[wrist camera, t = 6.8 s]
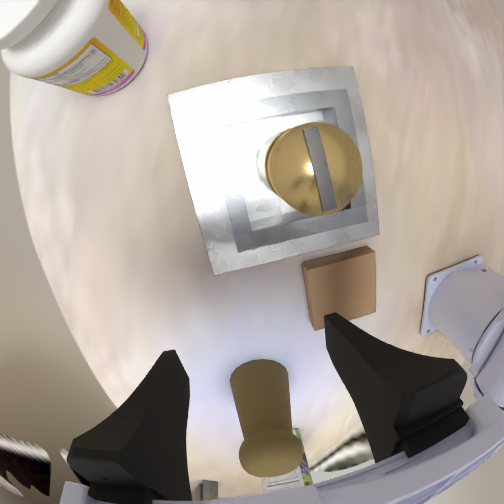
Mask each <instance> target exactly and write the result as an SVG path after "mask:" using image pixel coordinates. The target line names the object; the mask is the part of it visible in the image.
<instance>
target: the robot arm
mask: <svg viewBox="0 0 504 504" xmlns="http://www.w3.org/2000/svg"><path fill="white" fill-rule="evenodd" d="M482 261H483V257H482V256H481V255H478V256H476V257H474V258H472V259H469V260H467V261H464V262H462V263H460V264H457V265H455V266H452V267H450V268H447V269H445V270H442V271H440V272H437V273H434V274H432V275H430V276H428V278H427V282H426V293H425V302H424V310H423V318H422V325H421V331H420V334H421V335H422V336H425V335H427V334H429V333H432V332H434V331H436V330H439V331H440V332H441V333H442V334H443V335H444V336H445V337H446V338H447V339H448V340H449V341H450V342H451V343H452V344H453V345H454V346H455V347H456V348H457V349H458V350H459V351H460V352H461V353H462V355H463V356H464V357H465V358H466V359H468V361H469V362H470V363H471V364H472V365H471V367H470V369H469V371H470V373H471V374H472V375H473V376H474V377H473V378H472V382H471V386H472V390H473V394H474V396H475V398H476V400H477V401H476V402H475V403H473V404H472V405H470V406H469V407H468V408H467V409H466V410H465V411H464V409H463V408H462V405H463V401H462V400H461V399H460V395H461V393H462V391H463V389H464V386H465V384H466V381H467V373H466V372H465V371H464V369H463V368H462V367H461V366H460V365H459V364H458V363H457V362H456V361H455V360H454V359H446V358H436V357H430V356H425V355H420V354H416V353H413V352H409V351H406V350H403V349H400V348H397V347H395V346H392V345H390V344H388V343H385V342H383V341H381V340H379V339H377V338H375V337H373V336H372V335H370V334H368V333H366V332H365V331H363V330H362V329H360V328H358V327H357V326H355V325H354V324H352V323H351V322H349V321H348V320H347V319H345V318H344V317H342V316H341V315H339V314H338V313H336V312H334V313H331V314H327V315H324V326H325V337H326V348H327V350H328V353H329V356H330V358H331V361H332V363H333V365H334V367H335V369H336V371H337V372H338V374H339V376H340V378H341V380H342V381H343V383H344V385H345V387H346V389H347V390H348V392H349V394H350V396H351V398H352V400H353V402H354V404H355V406H356V409H357V411H358V414H359V416H360V419H361V421H362V424H363V427H364V430H365V432H366V435H367V438H368V441H369V444H370V447H371V450H372V453H373V457H374V460H375V463H376V464H373V465H371V466H368V467H365V468H363V469H360V470H357V471H355V472H352V473H349V474H346V475H343V476H340V477H337V478H333V479H330V480H327V481H323V482H320V483H316V484H312V485H308V486H300V487H294V488H287V489H283V490H277V491H272V492H266V493H260V494H253V495H245V496H237V497H226V498H219V499H212V500H207V501H193V500H192V495H191V490H190V483H189V475H188V466H187V453H186V430H187V420H188V410H189V400H190V385H189V377H188V375H187V373H186V371H185V369H184V367H183V365H182V363H181V361H180V359H179V357H178V355H177V353H176V351H175V350H169V351H163V353H162V354H161V355H160V357H159V358H158V359H157V361H156V362H155V364H154V365H153V367H152V368H151V370H150V371H149V372H148V374H147V375H146V377H145V378H144V379H143V381H142V382H141V383H140V384H139V386H138V387H137V388H136V389H135V391H134V392H133V393H132V394H131V395H130V397H129V398H128V399H127V400H126V401H125V402H124V403H123V404H122V405H121V406H120V407H119V408H118V409H117V410H116V411H114V412H113V413H112V414H111V415H110V416H109V417H108V418H106V419H105V420H104V421H102V422H101V423H100V424H98V425H97V426H96V427H94V428H92V429H91V430H89V431H87V432H85V433H84V434H82V435H80V436H78V437H77V438H74V439H73V441H72V444H71V447H70V450H69V453H68V456H67V462H68V464H69V465H70V467H71V468H72V469H74V470H75V471H76V472H77V473H79V474H80V475H81V476H82V477H84V478H85V479H86V480H88V481H89V482H90V486H89V487H87V486H85V485H82V484H78V483H73V482H69V481H66V482H65V485H64V489H63V493H62V496H61V500H60V504H423V503H425V502H427V501H428V500H430V499H432V498H434V497H435V496H437V495H438V494H440V493H441V492H443V491H444V490H446V489H448V488H449V487H451V486H452V485H454V484H455V483H456V482H458V481H459V480H461V479H462V478H464V477H465V476H467V475H468V474H469V473H471V472H472V471H473V470H475V469H476V468H477V467H479V466H480V465H481V464H482V463H484V462H485V461H486V460H488V459H489V458H490V457H491V456H492V455H493V454H494V453H495V452H496V451H497V450H498V449H499V447H500V446H501V445H502V444H503V443H504V277H503V276H502V275H500V274H499V273H497V272H495V271H494V270H492V269H490V268H489V267H487V266H485V265H484V264H482Z"/></svg>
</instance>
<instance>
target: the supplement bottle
mask: <svg viewBox="0 0 504 504" xmlns="http://www.w3.org/2000/svg"><path fill="white" fill-rule="evenodd" d="M147 46H148V45H147V39H146V36H145V34H144V32H143V30H142V29H141V27H140V26H139V24H138V23H137V22H136V20H135V19H134V18H133V16H132V15H131V14H130V12H129V11H128V10H127V8H126V7H125V6H124V5H123V3H122V2H121V1H120V0H0V50H1V54H2V58H3V61H4V63H5V65H6V67H7V68H8V69H9V70H10V71H11V72H13V73H15V74H17V75H20V76H23V77H26V78H31V79H35V80H39V81H42V82H46V83H50V84H53V85H56V86H60V87H63V88H67V89H70V90H73V91H76V92H80V93H83V94H87V95H92V96H101V95H106V94H110V93H112V92H115V91H117V90H119V89H120V88H122V87H124V86H125V85H126V84H128V83H129V82H130V81H131V80H132V79H133V78H134V77H135V76H136V75H137V73H138V72H139V70H140V69H141V67H142V65H143V63H144V61H145V58H146V55H147Z"/></svg>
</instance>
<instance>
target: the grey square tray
mask: <svg viewBox="0 0 504 504" xmlns="http://www.w3.org/2000/svg"><path fill="white" fill-rule="evenodd" d="M167 96H168V100H169V105H170V109H171V114H172V118H173V123H174V127H175V131H176V135H177V140H178V144H179V148H180V152H181V156H182V160H183V164H184V168H185V172H186V176H187V180H188V184H189V188H190V191H191V195H192V199H193V203H194V206H195V210H196V214H197V217H198V221H199V225H200V228H201V232H202V235H203V239H204V242H205V246H206V249H207V253H208V256H209V260H210V263H211V266H212V270H213V273H214V275H219V274H223V273H227V272H231V271H235V270H240V269H244V268H248V267H252V266H256V265H260V264H265V263H269V262H273V261H277V260H281V259H285V258H289V257H293V256H297V255H301V254H305V253H309V252H313V251H317V250H321V249H325V248H329V247H333V246H337V245H341V244H345V243H349V242H353V241H357V240H361V239H365V238H368V237H372V236H376V235H379V219H378V207H377V196H376V187H375V178H374V170H373V163H372V156H371V149H370V143H369V137H368V132H367V126H366V121H365V116H364V111H363V106H362V101H361V97H360V93H359V88H358V84H357V80H356V76H355V72H354V69H353V67H322V68H307V69H296V70H286V71H278V72H270V73H263V74H257V75H251V76H245V77H240V78H234V79H229V80H224V81H220V82H215V83H211V84H207V85H202V86H198V87H194V88H191V89H187V90H183V91H180V92H176V93H173V94H169V95H167ZM310 122H324V123H329V124H332V125H334V126H336V127H338V128H340V129H342V130H343V131H344V132H346V133H347V134H348V135H349V136H350V137H351V138H352V140H353V141H354V142H355V144H356V146H357V148H358V150H359V152H360V155H361V159H362V166H363V173H362V180H361V184H360V187H359V189H358V191H357V193H356V195H355V196H354V198H353V199H352V200H351V201H350V203H349V204H347V205H346V206H345V207H344V208H342V209H341V210H339V211H337V212H335V213H333V214H330V215H325V216H311V215H307V214H304V213H301V212H299V211H297V210H295V209H294V208H292V207H291V206H290V205H288V204H287V203H286V202H285V201H283V200H282V199H281V198H280V197H279V196H277V195H276V194H275V193H274V192H272V191H271V190H270V189H269V188H268V187H267V186H266V185H265V184H264V182H263V181H262V179H261V177H260V174H259V170H258V157H259V153H260V150H261V148H262V146H263V145H264V143H265V142H266V141H267V140H268V139H269V138H270V137H271V136H273V135H274V134H276V133H278V132H281V131H284V130H287V129H290V128H293V127H296V126H299V125H302V124H305V123H310Z"/></svg>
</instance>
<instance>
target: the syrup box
mask: <svg viewBox="0 0 504 504" xmlns="http://www.w3.org/2000/svg"><path fill="white" fill-rule="evenodd" d="M292 433H293V434H294V435H296V436H297V438H298V439H299V441H300V442H301V444H302V447H303V443H302V440H301V436H300V432H299V429H292ZM262 482H263V489H264V493H266V492H272V491H277V490H283V489H287V488H294V487H300V486H308V485H312V484H313V482H312V478H311V474H310V470H309V467H308V463H307V459H306V455H305V451H304V447H303V460H302V462H301V464H300V465H299V466H298V468H296V469H295V470H293V471H291V472H290V473H287V474H285V475H281V476H277V477H262Z"/></svg>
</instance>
